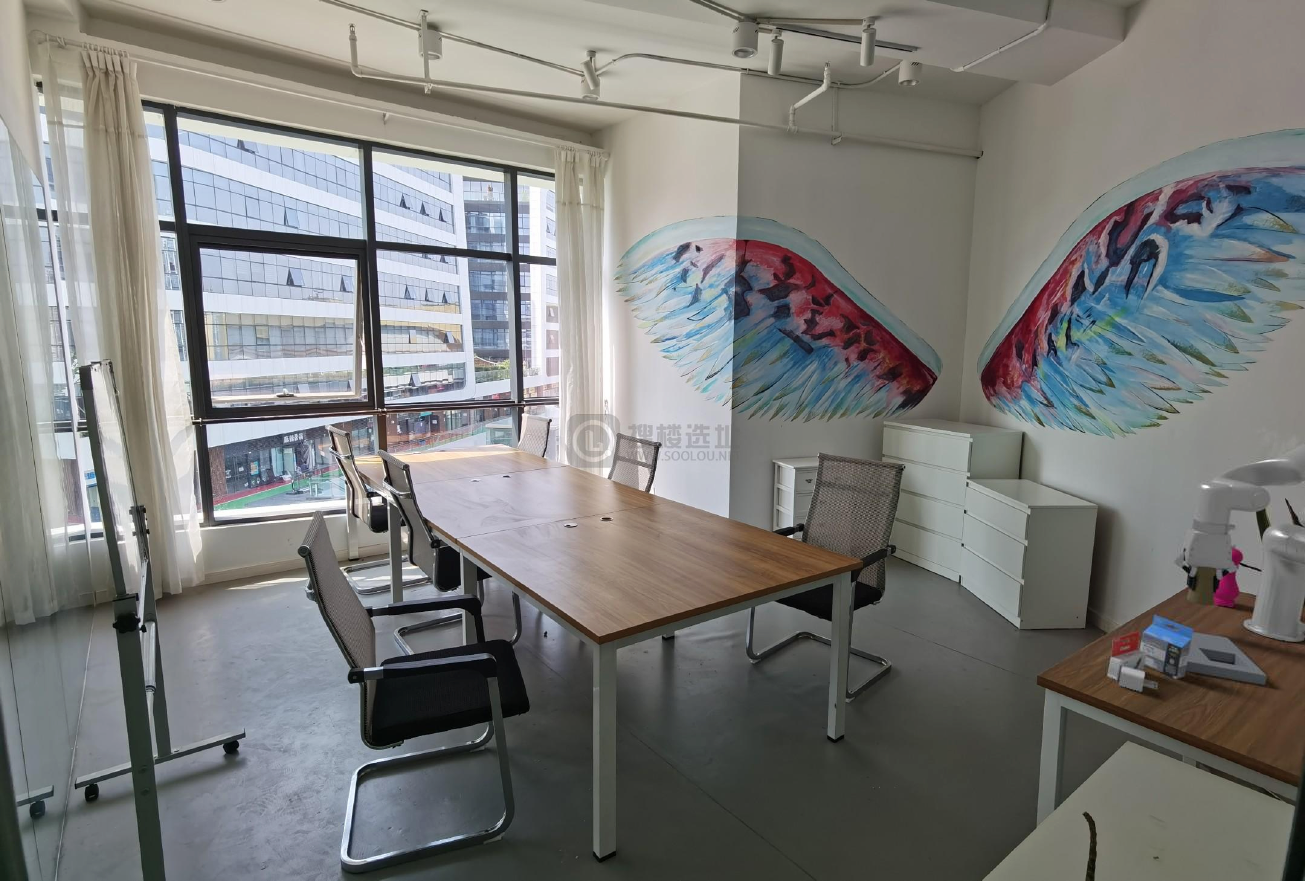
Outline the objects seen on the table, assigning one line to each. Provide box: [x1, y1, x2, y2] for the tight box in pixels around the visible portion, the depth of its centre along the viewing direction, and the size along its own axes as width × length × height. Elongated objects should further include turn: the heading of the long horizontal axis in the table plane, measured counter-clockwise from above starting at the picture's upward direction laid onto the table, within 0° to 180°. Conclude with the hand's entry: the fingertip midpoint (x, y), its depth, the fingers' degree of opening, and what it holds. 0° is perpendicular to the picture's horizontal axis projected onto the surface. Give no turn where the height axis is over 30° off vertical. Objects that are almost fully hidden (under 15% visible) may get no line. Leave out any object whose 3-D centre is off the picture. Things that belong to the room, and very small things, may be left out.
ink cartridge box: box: [1106, 631, 1146, 681], centre depth 156 cm, size 2×11×10 cm, turn 116°
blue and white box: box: [1139, 614, 1194, 680], centre depth 159 cm, size 9×4×12 cm, turn 23°
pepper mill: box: [1214, 542, 1244, 608], centre depth 203 cm, size 7×7×20 cm
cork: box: [1186, 567, 1217, 606], centre depth 181 cm, size 6×6×11 cm
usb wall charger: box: [1118, 666, 1159, 693], centre depth 150 cm, size 4×7×4 cm, turn 50°
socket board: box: [1173, 628, 1268, 686], centre depth 167 cm, size 16×22×2 cm
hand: (1201, 589), depth 182 cm, fingers closed on cork, 4 cm apart
